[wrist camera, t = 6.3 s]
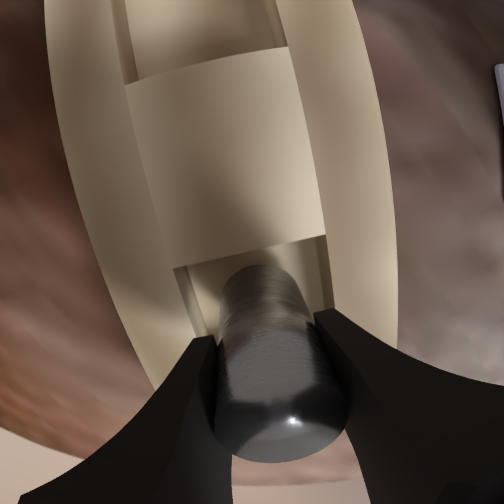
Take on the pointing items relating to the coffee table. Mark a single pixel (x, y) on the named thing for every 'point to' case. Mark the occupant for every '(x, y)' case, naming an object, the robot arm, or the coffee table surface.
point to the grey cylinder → (273, 371)
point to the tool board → (224, 158)
